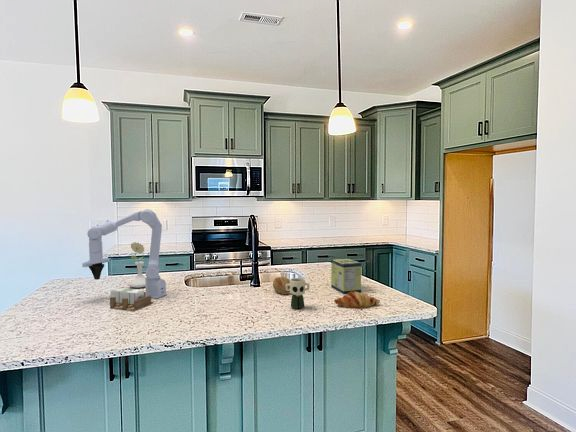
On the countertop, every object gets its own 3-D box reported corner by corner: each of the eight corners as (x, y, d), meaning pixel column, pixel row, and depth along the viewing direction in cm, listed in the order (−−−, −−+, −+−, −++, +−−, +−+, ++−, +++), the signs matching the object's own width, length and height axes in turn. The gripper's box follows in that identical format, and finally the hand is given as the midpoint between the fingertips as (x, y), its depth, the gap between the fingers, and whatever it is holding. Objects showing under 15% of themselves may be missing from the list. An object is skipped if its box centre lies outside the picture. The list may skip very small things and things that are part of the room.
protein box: (347, 285, 210) (347, 258, 209) (361, 292, 195) (361, 263, 194) (330, 287, 207) (330, 259, 206) (343, 294, 192) (343, 264, 191)
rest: (153, 302, 179) (153, 292, 178) (133, 311, 167) (133, 300, 166) (130, 300, 183) (130, 290, 183) (110, 308, 171) (109, 297, 171)
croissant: (377, 310, 177) (375, 293, 180) (384, 306, 168) (381, 288, 171) (333, 310, 175) (331, 293, 178) (337, 306, 166) (336, 289, 169)
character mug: (286, 310, 166) (286, 281, 165) (284, 305, 173) (284, 278, 172) (310, 309, 167) (310, 281, 167) (308, 304, 174) (307, 277, 174)
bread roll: (277, 296, 188) (277, 281, 188) (269, 289, 203) (269, 274, 202) (295, 295, 191) (295, 279, 191) (286, 287, 206) (286, 273, 205)
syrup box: (110, 302, 176) (136, 305, 173) (110, 290, 176) (136, 292, 172) (118, 298, 182) (144, 301, 178) (118, 287, 181) (144, 289, 178)
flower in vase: (155, 285, 212) (154, 241, 210) (137, 290, 202) (136, 244, 200) (140, 282, 219) (139, 240, 217) (123, 287, 209) (121, 242, 207)
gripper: (101, 249, 191) (102, 275, 192) (76, 253, 177) (78, 281, 178) (112, 249, 188) (113, 276, 189) (88, 254, 175) (89, 283, 176)
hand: (97, 279), depth 183 cm, fingers closed
